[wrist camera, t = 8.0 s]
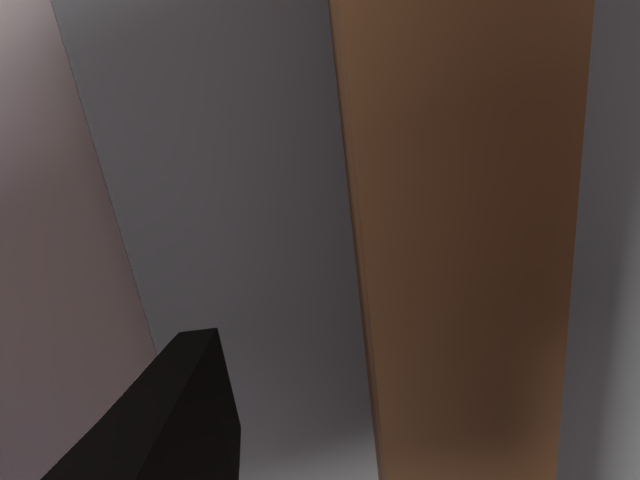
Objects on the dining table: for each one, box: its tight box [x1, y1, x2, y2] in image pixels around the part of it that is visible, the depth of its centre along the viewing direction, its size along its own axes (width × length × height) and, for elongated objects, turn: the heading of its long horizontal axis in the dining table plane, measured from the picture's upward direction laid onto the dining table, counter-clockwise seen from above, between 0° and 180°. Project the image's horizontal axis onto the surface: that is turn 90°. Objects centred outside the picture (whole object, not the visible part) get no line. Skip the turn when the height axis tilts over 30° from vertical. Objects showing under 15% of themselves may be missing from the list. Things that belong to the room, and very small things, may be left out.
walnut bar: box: [328, 0, 595, 480], centre depth 9 cm, size 2×24×2 cm, turn 7°
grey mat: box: [50, 0, 640, 480], centre depth 10 cm, size 10×28×1 cm, turn 7°
